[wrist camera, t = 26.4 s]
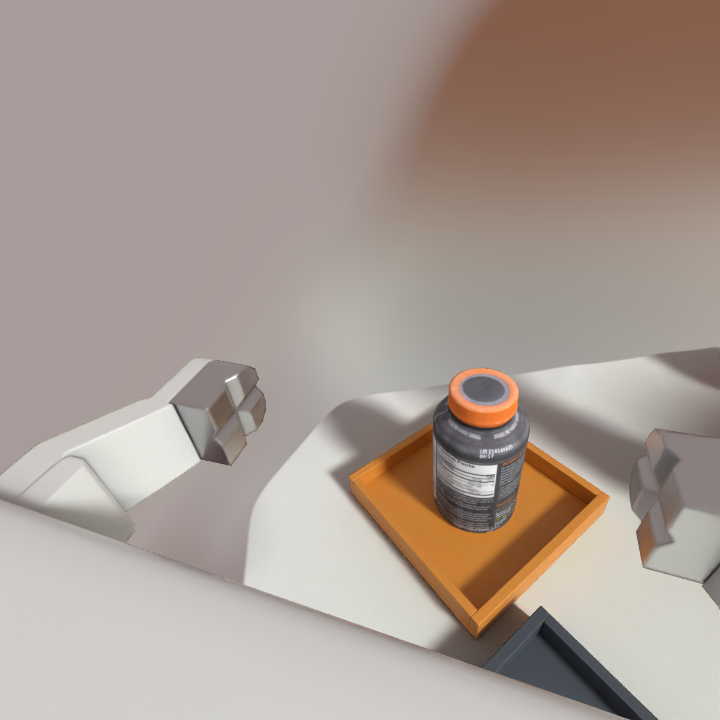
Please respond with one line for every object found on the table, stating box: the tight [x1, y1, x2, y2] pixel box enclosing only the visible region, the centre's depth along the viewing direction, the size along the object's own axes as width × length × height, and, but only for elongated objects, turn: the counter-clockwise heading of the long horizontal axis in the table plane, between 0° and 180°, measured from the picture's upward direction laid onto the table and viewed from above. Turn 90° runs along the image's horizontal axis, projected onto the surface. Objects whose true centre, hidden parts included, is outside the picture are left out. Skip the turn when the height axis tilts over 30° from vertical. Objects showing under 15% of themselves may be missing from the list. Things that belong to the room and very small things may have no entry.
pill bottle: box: [433, 368, 530, 533], centre depth 28 cm, size 6×6×11 cm
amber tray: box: [349, 422, 610, 640], centre depth 31 cm, size 13×13×2 cm
